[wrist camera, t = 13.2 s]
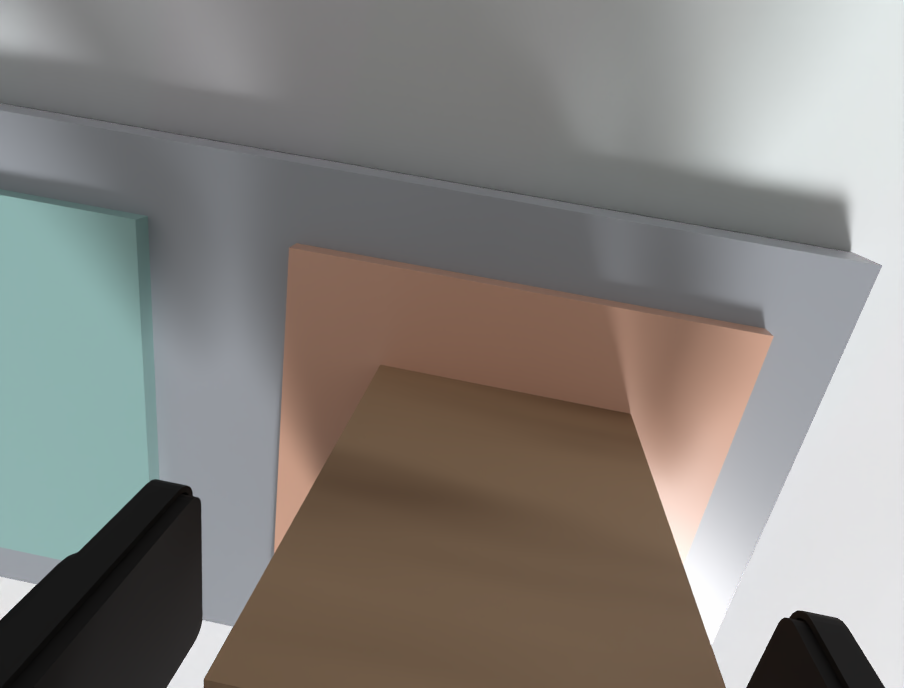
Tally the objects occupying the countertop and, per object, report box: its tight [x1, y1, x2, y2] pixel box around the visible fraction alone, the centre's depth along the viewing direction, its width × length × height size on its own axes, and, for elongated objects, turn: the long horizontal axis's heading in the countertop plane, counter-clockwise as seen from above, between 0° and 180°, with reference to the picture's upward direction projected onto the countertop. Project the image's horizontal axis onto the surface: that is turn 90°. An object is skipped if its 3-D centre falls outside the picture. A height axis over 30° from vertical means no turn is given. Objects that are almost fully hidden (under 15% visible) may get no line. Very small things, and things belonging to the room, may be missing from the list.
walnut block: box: [204, 365, 726, 688], centre depth 9 cm, size 5×5×7 cm
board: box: [0, 103, 882, 645], centre depth 13 cm, size 12×24×1 cm, turn 81°
